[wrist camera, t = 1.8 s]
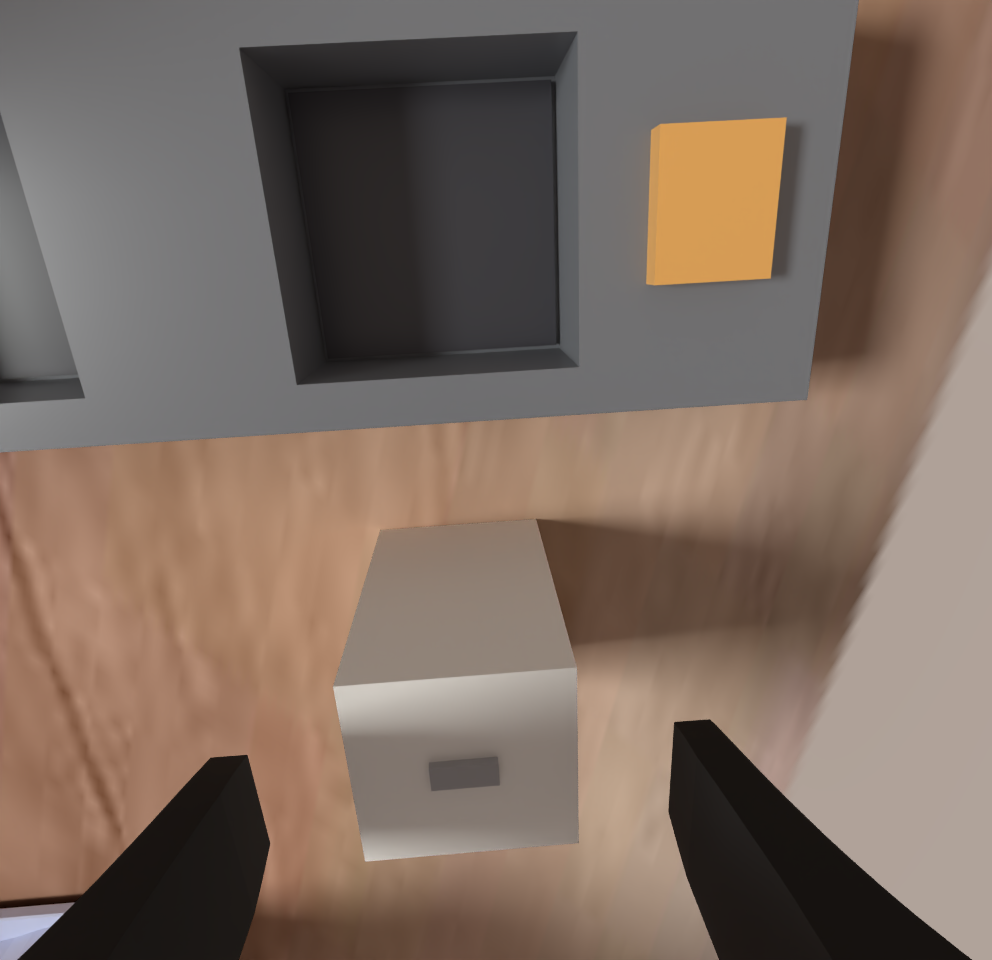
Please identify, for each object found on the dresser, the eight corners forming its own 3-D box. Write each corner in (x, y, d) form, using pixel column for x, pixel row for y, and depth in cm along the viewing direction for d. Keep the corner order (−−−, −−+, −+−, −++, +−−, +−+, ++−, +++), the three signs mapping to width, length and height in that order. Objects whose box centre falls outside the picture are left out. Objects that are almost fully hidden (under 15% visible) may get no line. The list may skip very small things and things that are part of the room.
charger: (397, 659, 17) (363, 869, 11) (380, 529, 15) (331, 692, 10) (540, 648, 17) (579, 850, 11) (535, 518, 16) (578, 673, 10)
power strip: (-119, 426, 14) (-299, 478, 11) (-271, 68, 11) (-567, -6, 8) (740, 371, 14) (821, 405, 11) (771, 18, 12) (887, -71, 9)
